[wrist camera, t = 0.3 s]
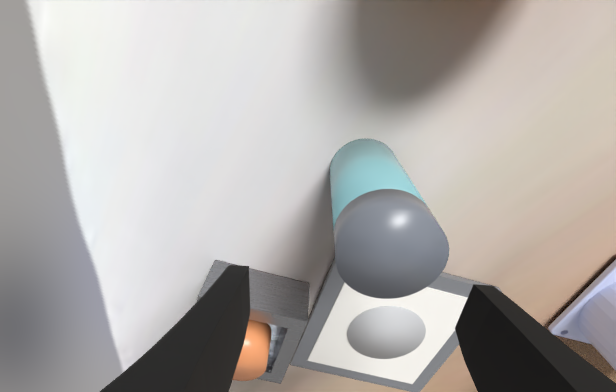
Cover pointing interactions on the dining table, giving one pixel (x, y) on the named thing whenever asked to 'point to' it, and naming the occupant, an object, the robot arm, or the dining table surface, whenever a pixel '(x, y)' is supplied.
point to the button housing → (273, 313)
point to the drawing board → (383, 332)
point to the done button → (254, 352)
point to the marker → (382, 224)
